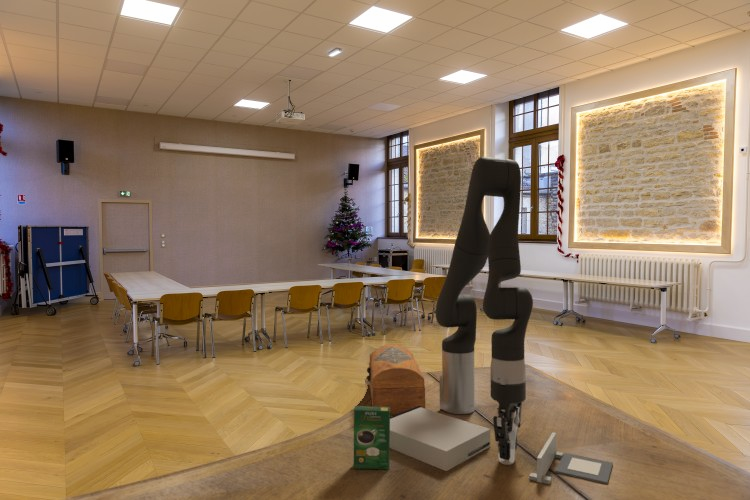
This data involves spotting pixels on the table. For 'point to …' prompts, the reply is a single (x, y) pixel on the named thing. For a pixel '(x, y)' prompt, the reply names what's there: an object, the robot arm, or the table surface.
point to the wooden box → (395, 379)
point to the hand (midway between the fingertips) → (508, 453)
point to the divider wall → (546, 460)
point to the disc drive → (436, 437)
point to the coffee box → (371, 437)
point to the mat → (585, 468)
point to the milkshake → (512, 447)
